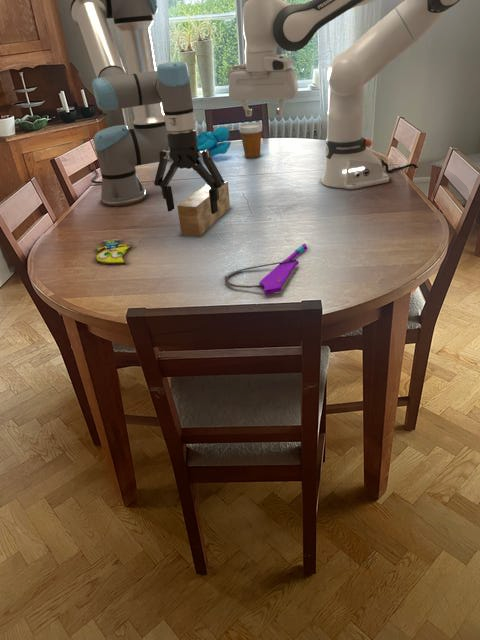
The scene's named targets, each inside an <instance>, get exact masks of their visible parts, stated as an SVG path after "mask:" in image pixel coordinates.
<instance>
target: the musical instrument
mask: <svg viewBox="0 0 480 640" xmlns="http://www.w3.org/2000/svg"><path fill="white" fill-rule="evenodd" d="M306 250H308V246H307V244H306V243H303V244H301V245H300V246H299V247H298V248H297V249H295V250H294V252H292V254H290V255H289V256H288V257H286V258H285V259H284V260H282V261H279V262H278V261H277V262H273V263H267V264H261V265H255V266H249V267H245V268H241V269H238V270H236V271H234V272H231V273H230V274H228V275H226V276H225V277H224V282H225V283H226V285H227V286H230V287H234V288H243V289H244V288H245V289H252V288H262V289H263V290H264V295H265V296H267V295H271V294H277V293H281V292H282V291H283V288H284V287H285V285H286V284H287V282H288V280H290V278H291V276H292V274H293V273H294V271H295V270H296V268H297V267H298V265H299V264H300V262H299V260H298V259H296V258H297V257H298V256H299V255H300V254H302V253H303V252H304V251H306ZM275 265H276V267H274V268H273V269H272V270H271V271H270V272H269V273H268V274H267V275H265V276H264V277H263V278H262V279H261V280H259V284H258V285H256V284H255V285H253V284H252V285H239V284H234V283H232V282H230V281H229V280H228V279H229V278H230V277H232V276H233V275H235V274H237V273H240V272H242V271H247V270H251V269H256V268H257V269H258V268H262V267H268V266H275Z"/></svg>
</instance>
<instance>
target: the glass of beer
mask: <svg viewBox="0 0 480 640" xmlns="http://www.w3.org/2000/svg"><path fill="white" fill-rule="evenodd" d="M262 131H263V126H262V124H261V123H245V124H241V125H240V126H239V133H240V137H241V142H242V147H243V152H244V157H245V158H248V159H249V158H251V159H252V158H253V159H254V158H258V157H260V156H261V144H262Z"/></svg>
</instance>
